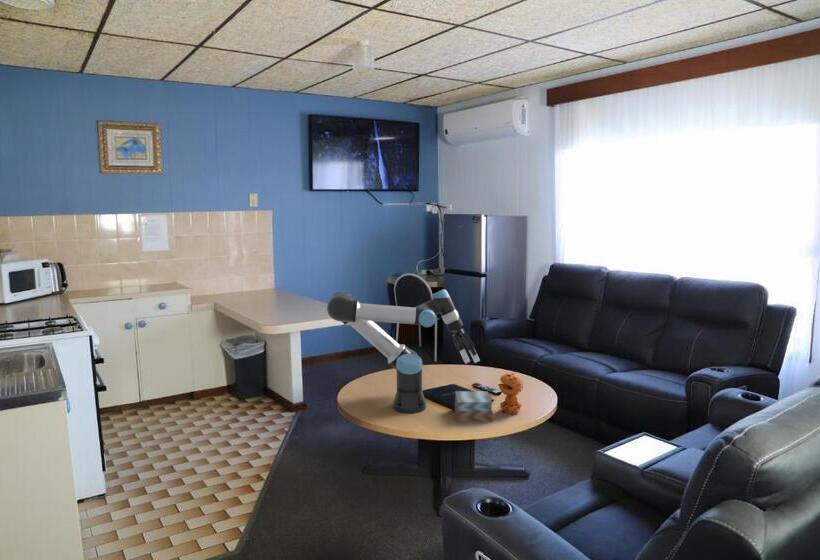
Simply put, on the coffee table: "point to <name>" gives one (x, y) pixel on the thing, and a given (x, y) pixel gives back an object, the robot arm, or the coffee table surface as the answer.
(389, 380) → the coffee table surface
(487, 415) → the grey square block
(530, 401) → the coffee table surface
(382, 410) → the coffee table surface
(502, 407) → the orange figurine
